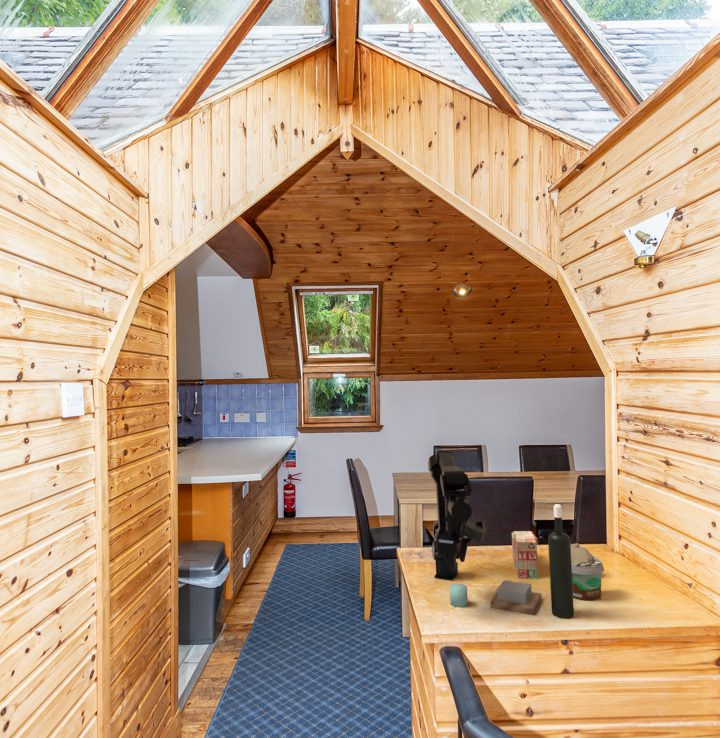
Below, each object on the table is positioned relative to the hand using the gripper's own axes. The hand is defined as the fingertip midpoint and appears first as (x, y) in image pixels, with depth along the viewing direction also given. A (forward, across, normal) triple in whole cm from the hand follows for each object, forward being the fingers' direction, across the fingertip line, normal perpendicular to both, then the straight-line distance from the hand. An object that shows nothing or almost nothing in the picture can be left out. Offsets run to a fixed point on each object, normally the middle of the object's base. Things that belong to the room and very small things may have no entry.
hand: (457, 566), depth 155 cm
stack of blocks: (+11, +38, -11) cm, 42 cm away
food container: (+11, +20, -34) cm, 41 cm away
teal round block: (+11, 0, 0) cm, 11 cm away
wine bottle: (+11, +5, -28) cm, 31 cm away
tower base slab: (+12, +7, -15) cm, 20 cm away
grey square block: (+9, +7, -15) cm, 19 cm away
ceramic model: (+11, +39, -28) cm, 50 cm away
